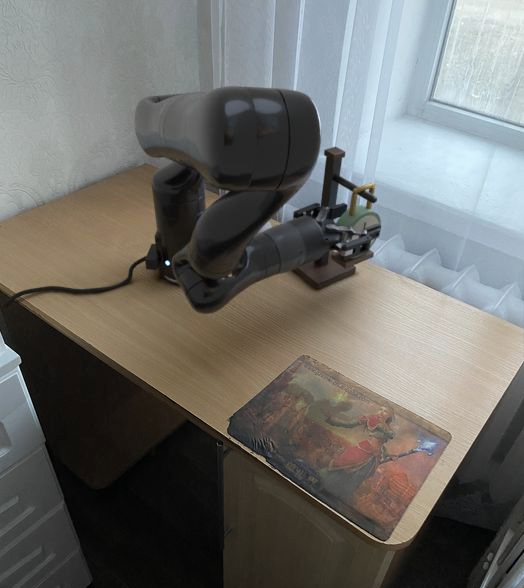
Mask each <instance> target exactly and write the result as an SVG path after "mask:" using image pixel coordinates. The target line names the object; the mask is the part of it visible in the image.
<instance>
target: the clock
mask: <svg viewBox="0 0 524 588" xmlns="http://www.w3.org/2000/svg"><path fill="white" fill-rule="evenodd" d="M375 186H376V183H375V182H369V183H367V184H363V185H361V186H358V188H355V189H353V192H351V198H350V204H349V208H347V210H346V211H345V212H344V213H343V214H342V216H341V217H339V218H338V219H337V220H336V222H335V223H336V224H338V225H340V226H350V227H352V228H353V229H359V230H363V229H364V228H366V227H369V226H372V225H374V224H377V223H378V224H380V225H381V226H382V220H381V217H380V215H379V214H378V213H377V212H375V211H374V210H372V205H373V203H371V202H369V201H368V200H366V204H365V205H364V204H357V201H358V196H359V195H358V194H357V193H358V192H361V191H364V190H365V191H367V190H368V192H369V193H371V194H372V195H374V196H375V191H376V189H375V188H376V187H375ZM346 238H347V233H343V238H342V241H345V240H346ZM358 238H359V236H356V235H354V236H352V239H354V240H355V239H358ZM377 239H378V238H375V239H373V240H371V245H370V250H369V252H366V253H363V254H360V255H358V256H355V257H352V258H349V259H347V260H341V259H340V253H339V252H338V251H336V252H335V253H333V254H332V255H331V259H332V260H334V261H335V262H336V263H338V264H339V265H341V266H342V267H343V268H345V269H346V268H349V267H351V266H353V265H354V266H355V265H358V264H360V263H363V262H364V261H367V260H369V259H372V258H374V255H375V252H374V251H372V250H371V248H372V247H373V245H374V244H375V242H376V241H377ZM361 247H362V246H361Z"/></svg>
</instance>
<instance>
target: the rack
mask: <svg viewBox="0 0 524 588" xmlns="http://www.w3.org/2000/svg"><path fill="white" fill-rule="evenodd" d="M323 151H324V152H323V156H324V157H325V165H324V172H323V173H324V174H323V183H322V189H321V190H322V191H321V200H320V207H324V206H328V207H331V206H334V205H337V199H338V192H339V185H340V186H342V187H344V188H345V189H347V190H349V191H351V193H353V189H355V188H358V187H359V186H358V185H357V184H355V183H353V182H351V181H349V180H348V179H346V178H344V177H343V176H341V170H342V162H343V158H345V157H346V151H345V150H343V149H341V148H339V147H337V146H333V147H329V148H326V149H324V150H323ZM357 194H358V195H357V196H359V197H361V198H363V199H364V200H365V201H367V200H368V201H369V202H371V203H372V204H376V203H377V202H378V197H377V196H376V195H375V194H374V195H372V194H371V193H369V191H367V190H364V191H361V192H358V193H357ZM328 220H329V219H328ZM333 221H334V222H335V219H333ZM333 253H336V252H335V250H334V251H327V252H325V253H324V254H323V255H322V256H321V257H320V258H319V259H318V260H315V261H313V262H310V263H308V264H305V265H303V266H300V267H298V268H295V269H293V270H292V271H293V272H294V273H295V274H297V275H298V276H299V277H301V278H302V279H303V280H304V281H305V282H307V283H308V284H309V285H311V286H312V287H313V288H315V289H316V290H320V289H322V288H325V287H327V286H329V285H331V284H333V283H336V282H338V281H340V280H343V279H345V278H348V277H350V276H352V275H354V274H356V271H357V267H356V266H355V265H353V266H351V267H349V268H346V269H345V268H343V267H342V266H341V265H339V264H338V263H336V262H335V261H334V260H332V259H331V255H332V254H333Z"/></svg>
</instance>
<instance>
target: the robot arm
mask: <svg viewBox="0 0 524 588" xmlns="http://www.w3.org/2000/svg"><path fill="white" fill-rule="evenodd" d="M133 127H134V132H135V136H136V139H137V142H138V144H139V145H140V148H141V149H142V150H143V152H144V153H145V154H146V155H147V156H148V157H150V158H155V159H160V158H165V159H167V160H169V161H171V162H170V163H168V164H166V165H164V166H163V167H161V168H159V169H157V170H156V171H155V172H154V173H153V175H152V177H151V180H150V181H151V191H152V192H151V193H152V199H153V208H154V216H155V224H156V231H155V233H154V243H150V246H149V249H148V251H147V253H146V255H145V256H143V257H141V258H139V259H137V260H135V261H134V262H133V263H132V264H131V265H130V267H129V269H128V275H127V277H126V278H125V279H124V280H123V281H121V282H119V283H117V284H115V285H111V286H104V287H91V288H74V287H73V288H72V287H67V286H60V285H59V286H58V285H47V286H41V287H40V286H39V287H33V288H28V289H24V290H21V291H18V292H16V293H14V294H13V295H11V296H10V297H9V298H8V299H7V300H6V301H5V302H4V303H3V305H2V307H1V308H3V309H6V308H8V307H9V306H10V305H11V303H12V302H13V301H15V300H17V299H18V298H20V297H22V296H25V295H29V294H34V293H39V292H47V291H59V292H67V293H72V294H90V293H103V292H109V291H113V290H116V289H119V288H121V287H124V286H126V285H127V284H128V283H130V282H131V280H132V278H133V273H134V270H135V268H136V267H137V266H139V265H141V264H143V263H145V269H146V270H150V271H158V276H159V279H160V280H161V279H162V280H165V281H166V282H169V283H170V284H174V285H179V287H180V289H181V290H182V292H183V294H184V296H185V298H186V300H187V302H188V304H189V306H190V307H191V309H192V310H193V311H195V312H196V313H198V314H201V315H211V314H214V313H217V312H219V311H220V310H222V309H223V308H225V307H226V306H227V305H228V304H230V302H231V301H232V300H234V298H236V297H237V296H238V295H239V294H241V293H243V292H244V291H246V290H247V289H248V288H249V287H251V286H253V285H254V284H257V283H258V282H261V281H264V280H266V279H269V278H271V277H273V276H276V275H280V274H284V273H288V272H290V271H293V269H295V268H298V267H300V266H303V265H305V264H308V263H310V262H313V261H315V260H318V259H319V258H320V257H321V256H322V255H323V254H324V253H325V252H327V251H334V252H335V251H336V252H339V253H340V259H341V260H347V259H349V258H352V257H355V256H358V255H360V254H363V253H366V252H369V250H370V251H371V248H370V245H371V240H373V239H375V238H377V239H378V238H379V237H380V235H381V231H382V224H381V225H380V224H378V223H377V224H374V225H372V226H369V227H366V228H364V229H363V230H359V229H353V228H352V227H350V226H340V225H338V224H336V223H337V222H335V220H336V219H339V218H340V217H341V216H342V214H343V213H344V212H345V211H346V210H348V204H347V203H345V202H342V203H336V205H334V206H331V207H328V206H324V207H321V203H319V202H313V203H311V204H309V205H307V206H304V207H301V208H299V209H296V210H294V211H293V214H292V219H291V220H288V221H285V222H282V223H280V224H276V225H274V226H273V227H271V228H269V229H267V230H265V231H263V232H261V233H259V234H257V232H258V231H259V230H260V229H261V228H262V227H263V226H264V225H265V224H266V223H267V222H268V221H270V220H271V219H272V218H273V217H275V216H276V214H278V212H279V211H280V210H281V209H282V208H284V206H285V205H286V204H287V203H288V202H289V201H290V200H291V199H292V198H293V197H294V196H295V195H296V194H297V193H298V192H299V191H300V190H301V189H302V188H303V186H304V185H305V184H306V183H307V182H308V180H309V179H310V177H311V175H312V173H313V172H314V170H315V168H316V165H317V163H318V159H319V157H320V152H321V146H322V122H321V117H320V112H319V110H318V107H317V105H316V103H315V101H314V100H313V98H311V96H309V95H308V94H307V93H304V92H302V91H298V90H296V89H295V90H294V89H289V88H280V87H278V88H277V87H261V86H259V87H258V86H241V85H227V86H220V87H216V88H214V89H211V90H209V91H208V92H207V91H206V92H204V91H190V92H181V93H169V94H168V93H167V94H159V95H149V96H146V97H142V98H141V99H140V100H139V101H138V102H137V104H136V106H135V109H134V113H133ZM205 182H207V183H208V184H209V185H210V186H212V187H214V188H216V189H218V190H222V191H227V192H226V193H225V194H223V195H222V196H220V197H219V198H218V199H216V200H214V201H213V202H212V203H211V204H210V205H209V206H208V207H206V206H207V205H206V187H205V186H206V185H205V184H206V183H205ZM328 219H329V220H328ZM333 219H334V221H333ZM343 233H347V238H346V240H345V241H342V238H343ZM354 235H356V236H359V238H358V239H355V240H354V239H352V236H354ZM361 246H362V247H361ZM229 275H231V276H229Z"/></svg>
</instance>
